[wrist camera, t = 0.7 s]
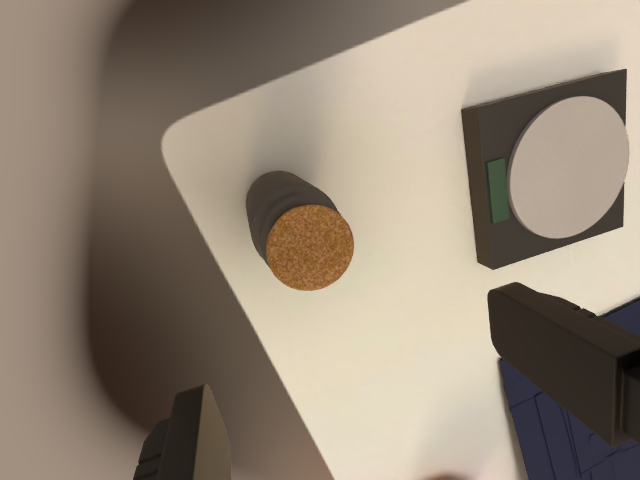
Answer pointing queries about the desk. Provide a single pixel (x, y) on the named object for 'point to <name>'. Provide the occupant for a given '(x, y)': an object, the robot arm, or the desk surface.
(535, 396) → the papers
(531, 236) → the scale
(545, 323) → the robot arm
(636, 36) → the desk surface
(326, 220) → the bottle
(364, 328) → the desk surface
